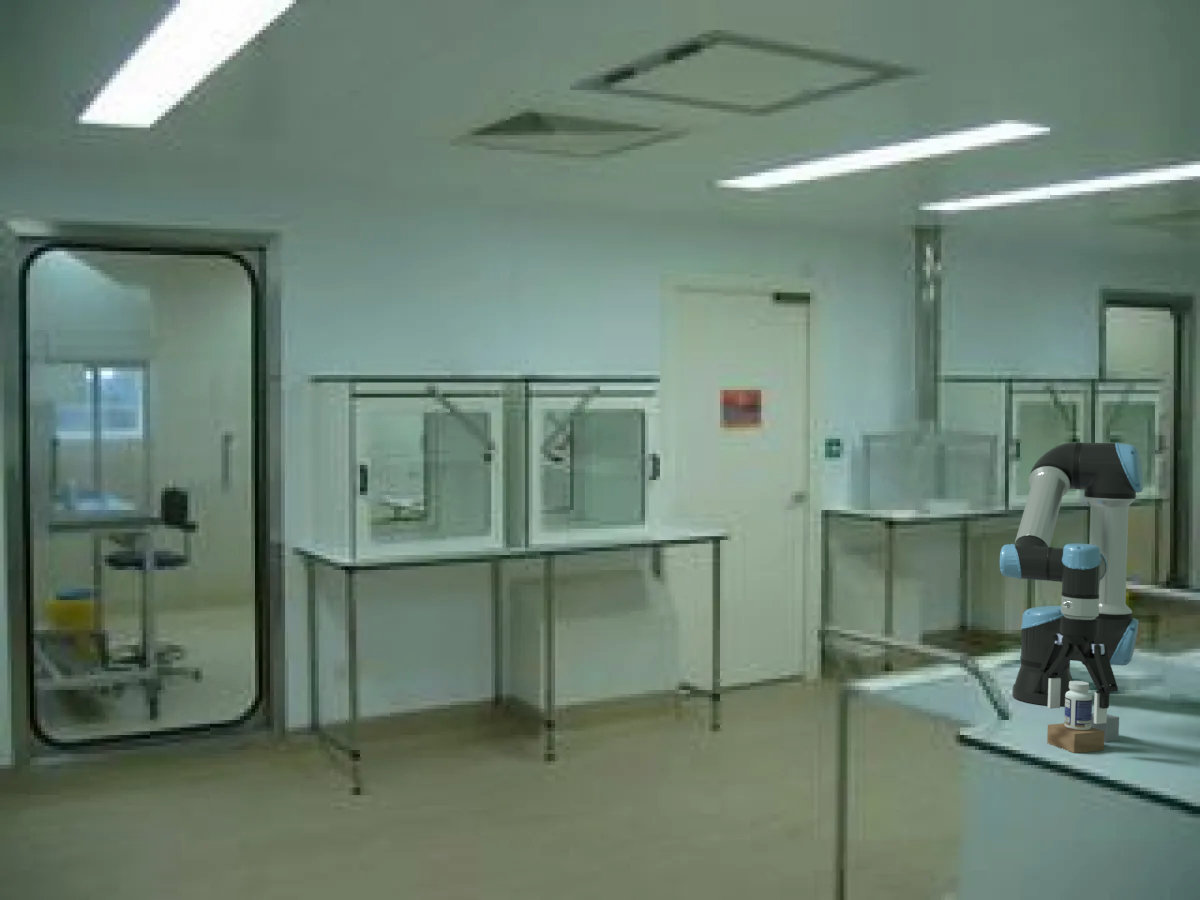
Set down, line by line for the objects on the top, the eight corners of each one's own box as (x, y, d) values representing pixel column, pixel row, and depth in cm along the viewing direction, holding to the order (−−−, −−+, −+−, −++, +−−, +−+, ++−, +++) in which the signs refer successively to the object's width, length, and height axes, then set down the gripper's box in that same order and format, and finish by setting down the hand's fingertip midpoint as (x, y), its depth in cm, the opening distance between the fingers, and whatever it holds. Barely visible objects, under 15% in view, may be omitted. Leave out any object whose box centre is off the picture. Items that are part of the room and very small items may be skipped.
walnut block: (1047, 743, 260) (1047, 724, 260) (1076, 740, 263) (1077, 722, 262) (1074, 753, 252) (1074, 734, 252) (1103, 750, 255) (1104, 731, 255)
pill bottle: (1094, 727, 258) (1096, 682, 257) (1085, 732, 254) (1087, 686, 253) (1069, 723, 261) (1071, 678, 261) (1060, 727, 257) (1061, 682, 257)
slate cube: (1084, 737, 266) (1085, 715, 265) (1097, 734, 269) (1098, 712, 268) (1105, 742, 262) (1106, 719, 261) (1118, 739, 264) (1119, 716, 264)
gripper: (1025, 608, 267) (1022, 703, 267) (1109, 627, 244) (1106, 731, 244) (1052, 606, 270) (1049, 700, 270) (1138, 625, 246) (1134, 728, 247)
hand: (1076, 715), depth 257 cm, fingers open, 13 cm apart
